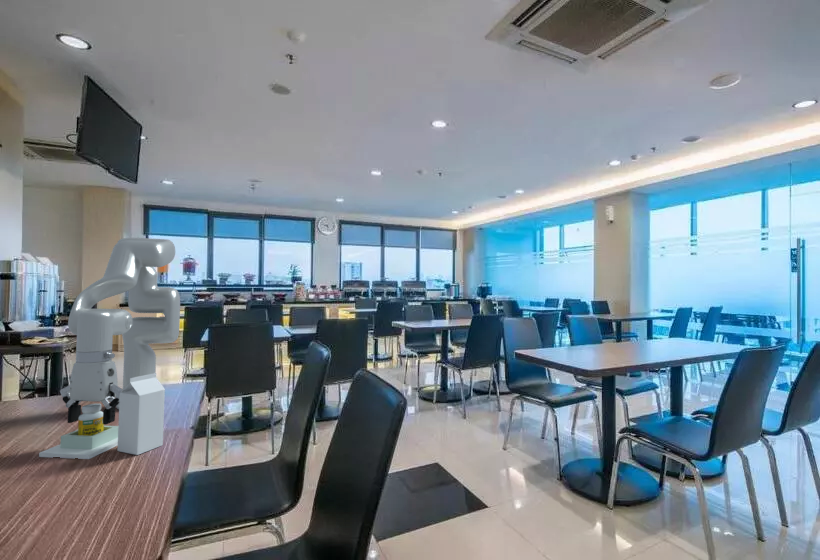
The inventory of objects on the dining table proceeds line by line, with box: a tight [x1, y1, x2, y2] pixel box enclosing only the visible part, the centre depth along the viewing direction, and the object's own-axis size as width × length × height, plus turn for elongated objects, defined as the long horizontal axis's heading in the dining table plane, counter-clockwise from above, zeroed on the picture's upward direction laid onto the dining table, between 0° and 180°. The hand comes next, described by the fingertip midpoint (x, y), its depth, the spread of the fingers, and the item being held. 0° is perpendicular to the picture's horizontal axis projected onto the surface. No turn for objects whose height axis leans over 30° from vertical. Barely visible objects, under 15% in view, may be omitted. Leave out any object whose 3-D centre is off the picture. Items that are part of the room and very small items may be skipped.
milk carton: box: [116, 372, 166, 456], centre depth 104 cm, size 7×7×19 cm
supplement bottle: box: [77, 403, 105, 436], centre depth 105 cm, size 5×5×10 cm
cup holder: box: [38, 425, 118, 460], centre depth 104 cm, size 15×13×4 cm
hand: (91, 422), depth 105 cm, fingers open, 9 cm apart
